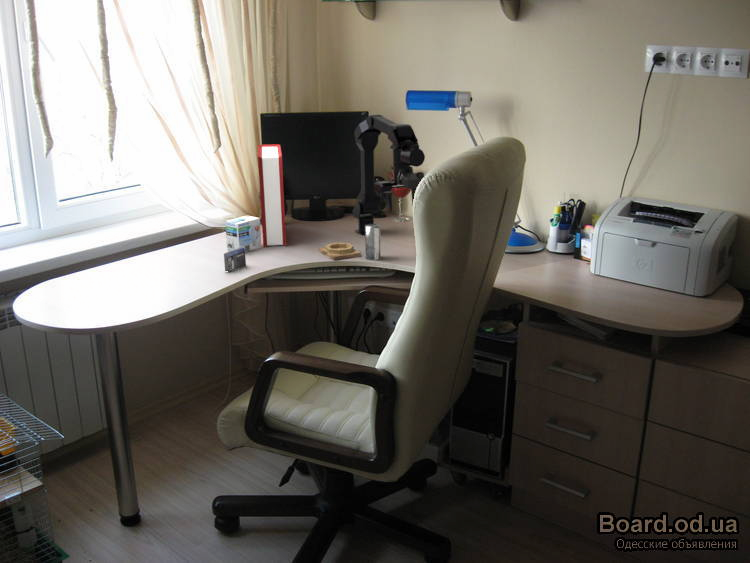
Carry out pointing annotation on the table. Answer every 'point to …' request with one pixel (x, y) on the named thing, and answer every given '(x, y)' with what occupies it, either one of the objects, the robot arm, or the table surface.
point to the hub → (339, 251)
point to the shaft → (372, 241)
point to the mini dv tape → (234, 259)
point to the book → (272, 194)
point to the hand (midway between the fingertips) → (402, 209)
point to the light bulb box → (243, 233)
